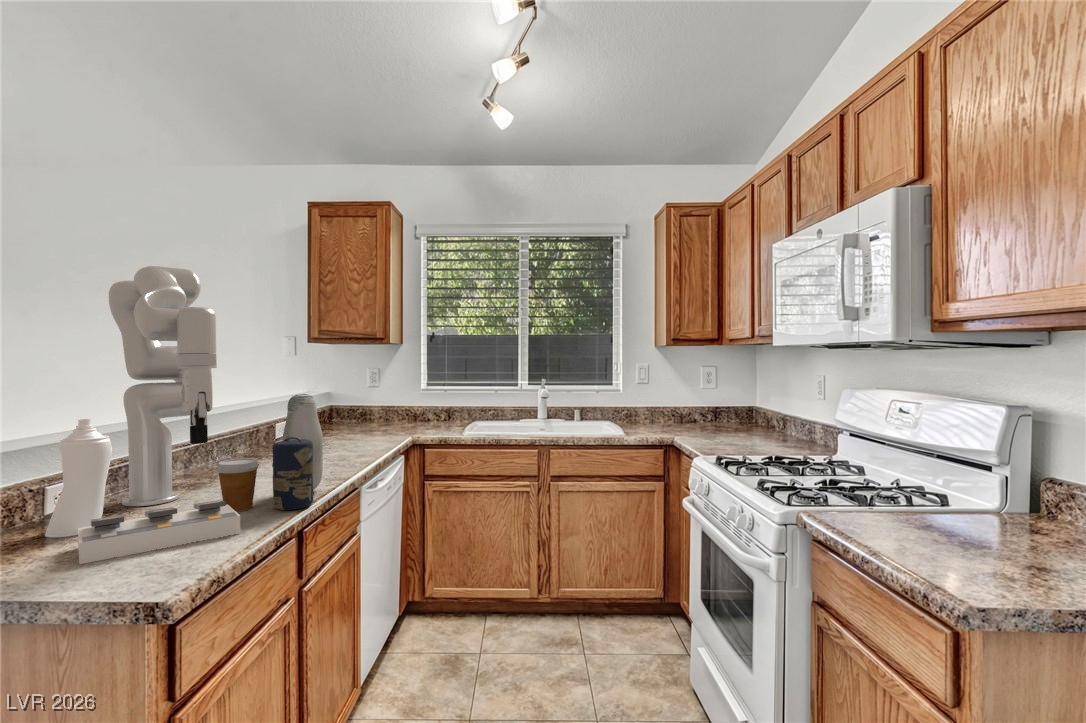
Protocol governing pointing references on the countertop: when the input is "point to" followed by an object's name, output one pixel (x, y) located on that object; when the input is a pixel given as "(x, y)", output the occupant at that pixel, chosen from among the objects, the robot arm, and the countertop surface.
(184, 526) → the switch unit
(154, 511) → the rocker middle
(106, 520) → the plate
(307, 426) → the grey bottle
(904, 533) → the countertop surface
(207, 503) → the rocker
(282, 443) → the canister
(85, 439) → the white bottle
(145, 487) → the robot arm
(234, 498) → the disposable coffee cup
